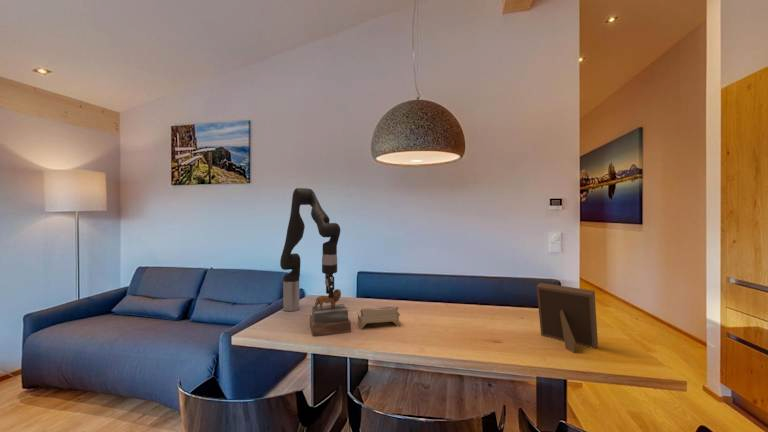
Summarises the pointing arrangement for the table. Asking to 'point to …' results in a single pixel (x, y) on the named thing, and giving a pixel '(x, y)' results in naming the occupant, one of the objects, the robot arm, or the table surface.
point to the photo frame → (568, 315)
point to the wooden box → (330, 320)
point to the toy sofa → (378, 316)
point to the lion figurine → (328, 299)
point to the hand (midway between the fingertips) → (329, 295)
